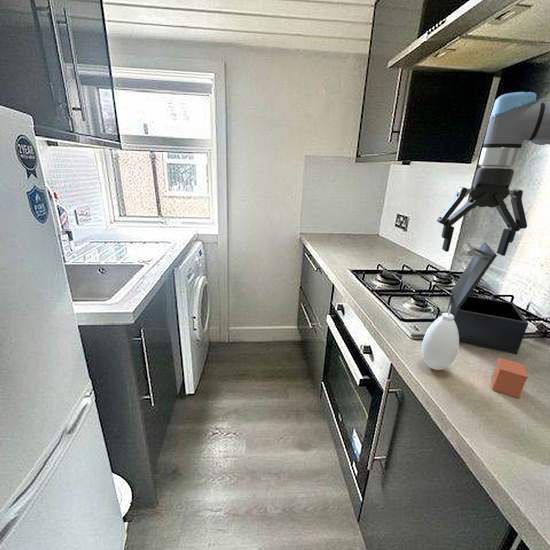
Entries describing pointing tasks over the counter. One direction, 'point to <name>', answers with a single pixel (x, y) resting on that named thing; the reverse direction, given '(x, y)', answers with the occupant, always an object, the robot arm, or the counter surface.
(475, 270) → the box lid
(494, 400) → the counter surface
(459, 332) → the dark grey box
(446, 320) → the white air blower bulb
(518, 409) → the counter surface
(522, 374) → the terracotta toy cube
